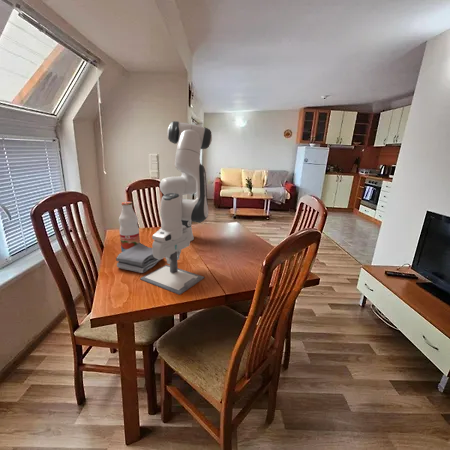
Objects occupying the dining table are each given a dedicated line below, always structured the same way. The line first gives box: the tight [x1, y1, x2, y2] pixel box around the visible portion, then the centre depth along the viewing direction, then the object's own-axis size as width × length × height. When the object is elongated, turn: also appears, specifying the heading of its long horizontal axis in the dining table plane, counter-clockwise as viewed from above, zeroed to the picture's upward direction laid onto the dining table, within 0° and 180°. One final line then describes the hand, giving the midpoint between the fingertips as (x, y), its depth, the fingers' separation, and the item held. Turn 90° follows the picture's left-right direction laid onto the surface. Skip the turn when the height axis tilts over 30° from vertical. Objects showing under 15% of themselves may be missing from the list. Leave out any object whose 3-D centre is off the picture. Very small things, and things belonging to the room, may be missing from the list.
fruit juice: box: [118, 201, 141, 253], centre depth 127 cm, size 9×9×28 cm
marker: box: [169, 245, 179, 273], centre depth 110 cm, size 4×4×13 cm
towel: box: [115, 242, 163, 274], centre depth 119 cm, size 15×18×8 cm
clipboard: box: [139, 264, 205, 295], centre depth 107 cm, size 22×16×2 cm
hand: (173, 261), depth 110 cm, fingers closed on marker, 3 cm apart
